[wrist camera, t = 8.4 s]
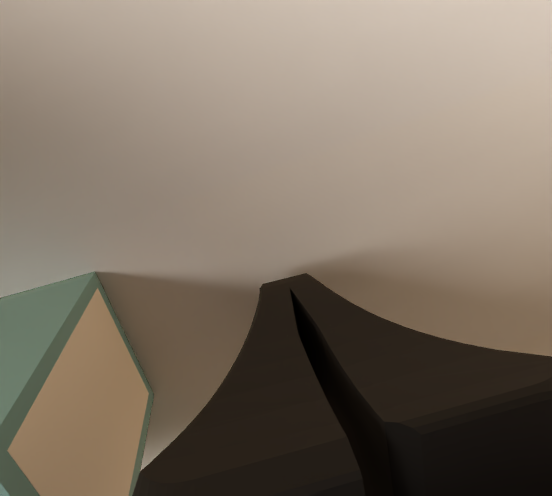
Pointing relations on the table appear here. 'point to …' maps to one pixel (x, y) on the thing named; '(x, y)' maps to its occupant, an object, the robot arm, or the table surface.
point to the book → (69, 394)
